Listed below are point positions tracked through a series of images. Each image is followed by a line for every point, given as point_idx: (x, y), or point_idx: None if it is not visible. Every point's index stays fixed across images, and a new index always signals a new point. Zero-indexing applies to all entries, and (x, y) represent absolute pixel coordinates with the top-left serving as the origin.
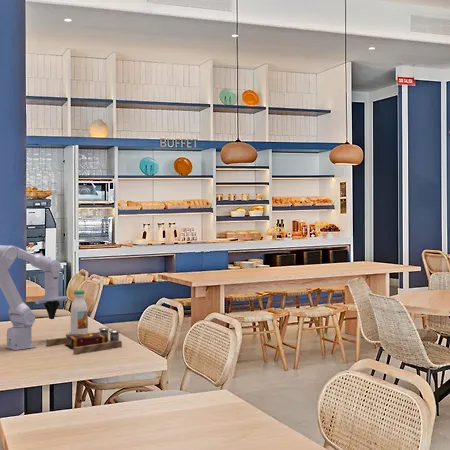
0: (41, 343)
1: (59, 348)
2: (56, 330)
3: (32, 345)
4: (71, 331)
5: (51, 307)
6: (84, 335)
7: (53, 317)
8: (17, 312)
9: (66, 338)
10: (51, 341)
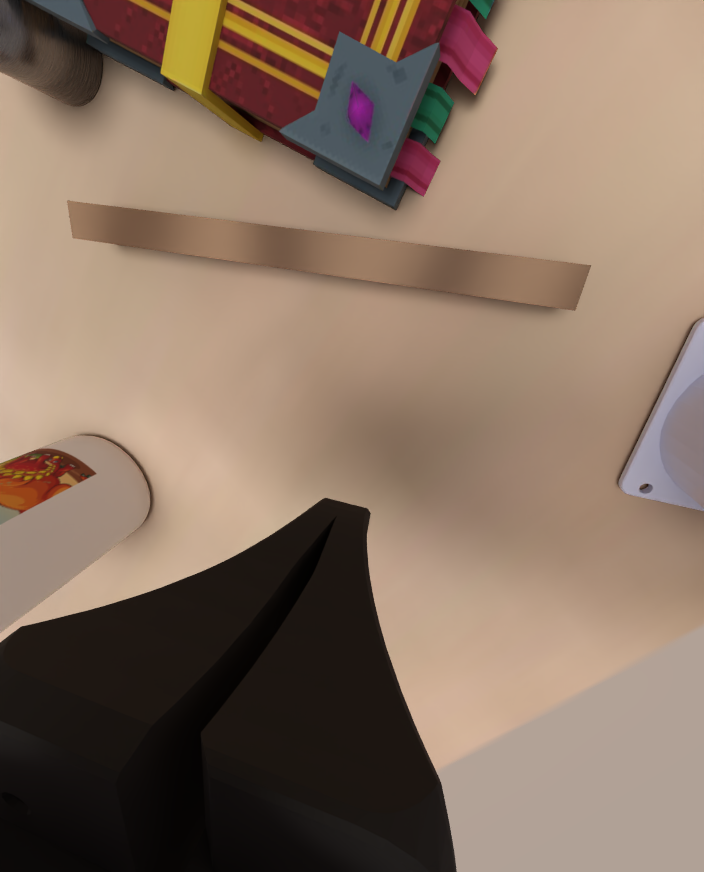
0: (490, 435)
1: (596, 50)
2: None
3: (685, 376)
4: (138, 510)
5: (343, 677)
6: None
7: (332, 508)
8: None
9: (354, 237)
10: (540, 262)
